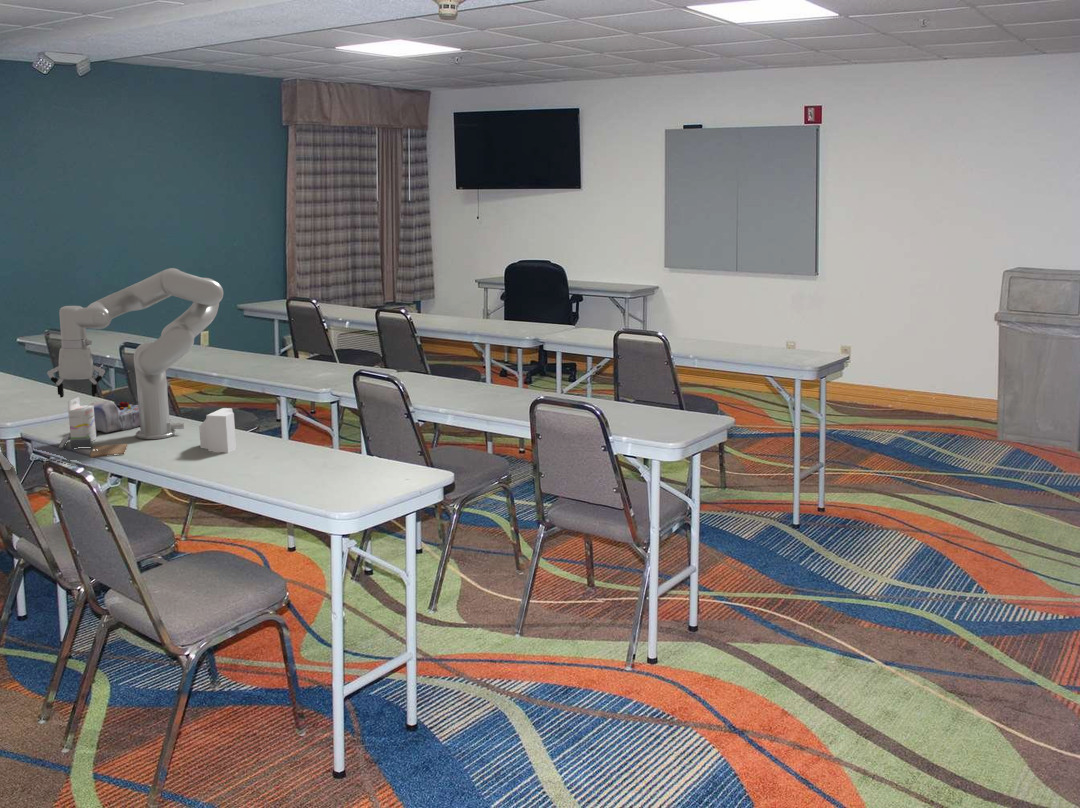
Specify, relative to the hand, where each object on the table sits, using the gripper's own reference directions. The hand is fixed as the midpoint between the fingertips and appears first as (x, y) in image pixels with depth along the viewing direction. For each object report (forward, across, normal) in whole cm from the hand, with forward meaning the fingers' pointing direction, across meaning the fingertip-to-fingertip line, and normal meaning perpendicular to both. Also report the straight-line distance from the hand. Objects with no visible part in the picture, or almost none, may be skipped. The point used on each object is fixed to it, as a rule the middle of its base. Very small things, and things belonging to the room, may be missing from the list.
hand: (78, 396), depth 343 cm
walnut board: (+16, -10, +14) cm, 23 cm away
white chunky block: (+15, -44, +19) cm, 50 cm away
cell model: (+16, -10, -19) cm, 27 cm away
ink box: (+16, -1, 0) cm, 16 cm away
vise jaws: (+16, +1, 0) cm, 16 cm away
